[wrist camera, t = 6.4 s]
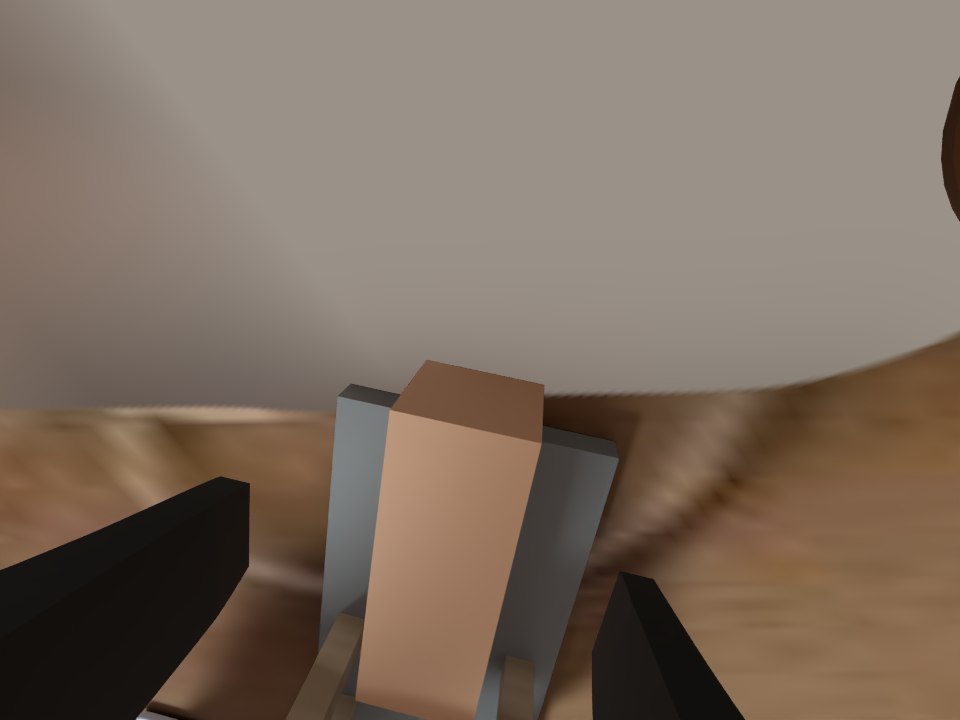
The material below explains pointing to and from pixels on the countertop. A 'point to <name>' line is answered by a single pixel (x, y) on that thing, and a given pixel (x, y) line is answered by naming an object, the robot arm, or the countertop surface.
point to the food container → (952, 151)
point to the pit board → (538, 556)
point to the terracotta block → (446, 537)
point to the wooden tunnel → (320, 703)
